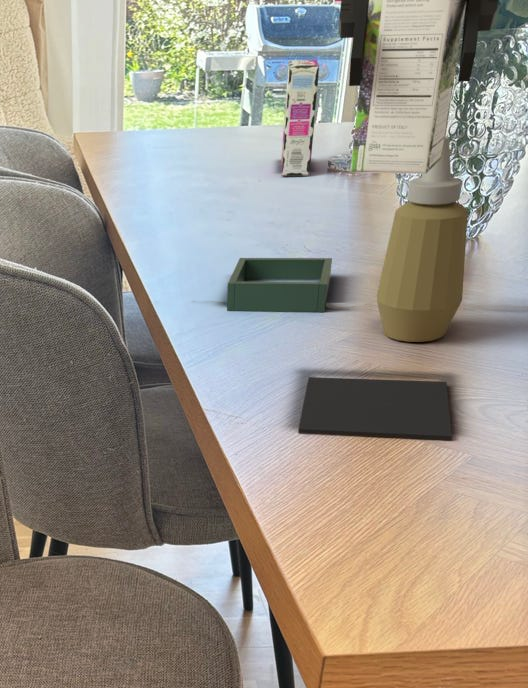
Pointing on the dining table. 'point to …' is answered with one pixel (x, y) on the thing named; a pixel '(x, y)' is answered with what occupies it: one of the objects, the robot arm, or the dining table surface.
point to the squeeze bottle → (425, 258)
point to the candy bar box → (299, 117)
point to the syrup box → (406, 84)
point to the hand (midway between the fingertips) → (410, 69)
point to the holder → (279, 285)
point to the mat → (376, 408)
